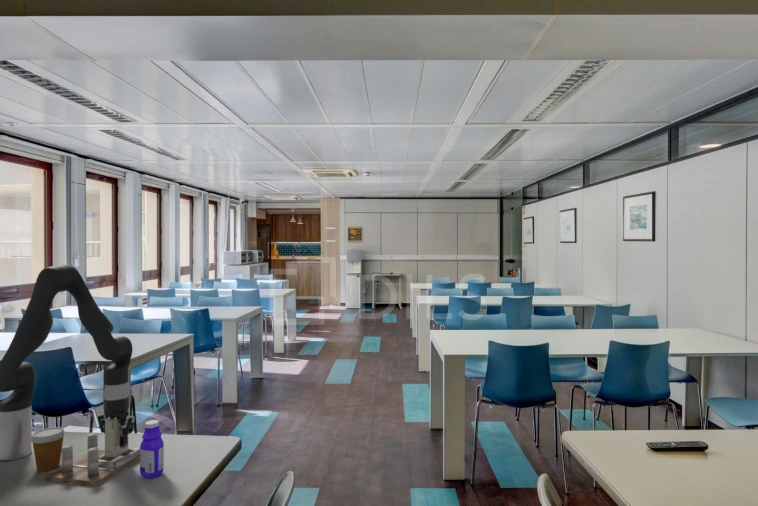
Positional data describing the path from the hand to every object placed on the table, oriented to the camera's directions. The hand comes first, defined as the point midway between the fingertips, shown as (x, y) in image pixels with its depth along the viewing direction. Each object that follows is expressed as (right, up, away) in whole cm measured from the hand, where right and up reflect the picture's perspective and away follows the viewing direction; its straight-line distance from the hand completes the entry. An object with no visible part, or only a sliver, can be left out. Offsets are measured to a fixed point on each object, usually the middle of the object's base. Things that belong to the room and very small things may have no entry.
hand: (116, 445), depth 154 cm
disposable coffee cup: (-23, -7, -1) cm, 24 cm away
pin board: (-6, -7, -3) cm, 9 cm away
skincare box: (0, -3, 0) cm, 3 cm away
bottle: (+16, -7, -7) cm, 19 cm away
